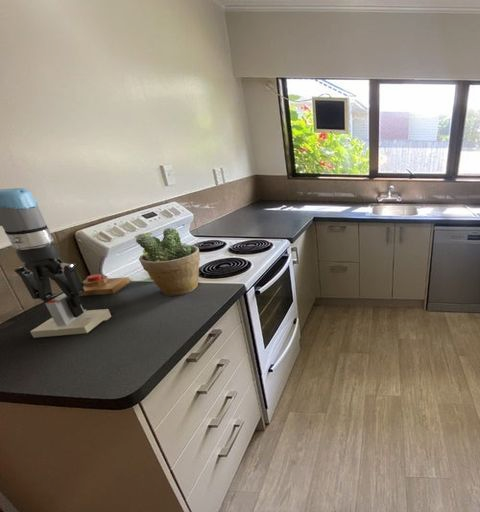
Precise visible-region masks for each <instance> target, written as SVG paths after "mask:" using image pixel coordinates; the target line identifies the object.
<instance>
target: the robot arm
mask: <svg viewBox="0 0 480 512" xmlns="http://www.w3.org/2000/svg"><path fill="white" fill-rule="evenodd" d="M0 227H2V228H3V230H4V234H5V235H6V236H7V238H8V240H9V242H10V243H11V246H12V247H13V248H14V249H15V254H16V256H17V257H18V259H19V261H20V262H21V263H24V264H23V265H22V266H20V267H18V268H15V269H14V272H15V273H16V274H17V275H18V276H19V277H20V278H21V281H22V282H23V285H24V286H25V287H26V289H27V291H28V293H29V294H30V297H31V298H32V299H33V300H37V299H38V300H41V301H43V304H44V305H45V307H46V308H47V306H46V304H45V303H46V302H48V301H51V300H52V299H54V298H56V297H58V295H56V293H53V290H52V285H51V281H54V282H55V284H56V285H57V286H58V287H59V288H60V290H61V291H62V292H63V293H65V295H66V296H67V297H68V298H66V299H65V300H66V302H67V304H68V306H69V308H70V310H71V312H72V314H73V316H74V318H77V317H78V316H80V315H81V314H83V313H84V312H83V310H84V309H83V310H82V308H83V306H82V304H83V303H82V301H81V298H80V296H78V295H80V294H82V293H83V292H84V288H83V287H84V285H83V283H82V282H81V281H82V280H81V278H80V277H79V275H78V272H77V264H76V263H74V262H71V263H66V262H64V261H63V260H62V259H61V258H60V251H59V249H58V246H57V244H56V243H55V242H54V241H55V239H54V238H53V237H54V236H52V234H51V231H50V229H49V227H48V225H47V223H46V221H45V218H44V217H43V214H42V212H41V210H40V207H39V204H38V202H37V200H36V199H35V197H34V196H33V194H32V193H31V191H30V190H29V189H27V188H20V187H19V188H18V187H17V188H16V187H15V188H1V189H0ZM50 280H51V281H50ZM81 306H82V307H81Z"/></svg>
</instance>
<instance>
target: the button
mask: <svg viewBox="0 0 480 512" xmlns="http://www.w3.org/2000/svg"><path fill="white" fill-rule="evenodd" d="M101 275H102V274H101V273H95V274H91V275H88V276H86V279H87V280H88V282H93V281H98V280H100V279H102V277H101Z"/></svg>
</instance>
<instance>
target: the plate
mask: <svg viewBox="0 0 480 512" xmlns="http://www.w3.org/2000/svg"><path fill="white" fill-rule="evenodd" d="M83 310H84V312H85V313H84V314H82V315H81V316H80V317H78V318H77V319H75V320H74V321H72V322H71V323H70V324H68V325H67V326H57V325H56V323H55V321H54V320H53V318H52V317H50V318H49V319H47V320H46V321H45V322H43V323H41V324H39V325H38V326H37V327H35V328H33V329H32V330H30V331H29V332H30V334H31V336H32V338H33V339H36V338H45V337H57V336H58V337H59V336H71V335H80V334H88V333H89V332H91V331H92V330H93V329H94V328H96V327H97V326H98V325H100V323H102V322H103V321H108V320H110V318H111V317H112V315H111V312H110V310H109V309H108V308H105V309H104V308H103V309H91V310H90V309H89V310H87V309H86V308H85V309H83Z"/></svg>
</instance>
